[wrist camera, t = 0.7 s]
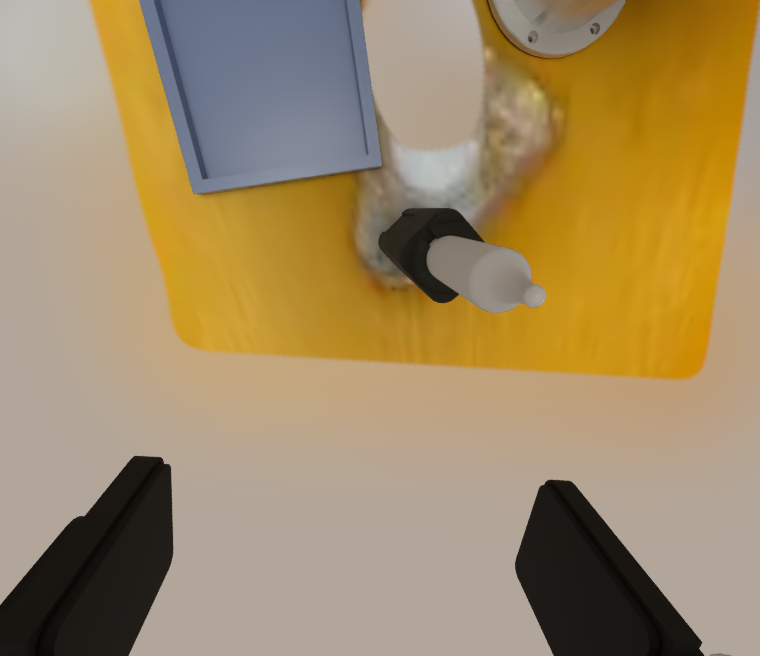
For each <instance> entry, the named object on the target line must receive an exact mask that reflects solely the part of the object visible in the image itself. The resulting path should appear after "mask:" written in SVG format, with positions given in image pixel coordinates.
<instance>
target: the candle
mask: <svg viewBox="0 0 760 656" xmlns="http://www.w3.org/2000/svg"><path fill="white" fill-rule="evenodd" d="M379 247H380V249H381V250H382V251H383V252H384V253H385V254H386V255H387V257H388V258H389V259H390V260H391V261H392V262H393V263H394V264H395V265H396V266H397V267H398V268H399V269H400V270H401V271H402V272H403V273H404V274H405V275H406V276H407V277H408V278H409V279H411V280H412V281H413V282H414V283H415V284H416V285H417V286H418V287H419V288H420V289H421V290H422V291H423V292H424V293H426V294H427V295H428V296H429V297H430V298H431V299H432V300H433V301H435V302H438V303H447V302H450V301H452V300H453V299H454V298H456V297H457V296H458V295H459V294H460V295H462V296H463V297H464V298H466V299H467V300H469V301H470V302H472V303H473V304H475V305H476V306H478V307H479V308H481V309H483V310H485V311H487V312H494V313H500V312H506V311H509V310H511V309H513V308H515V307H516V306H517V305H519V304H520V303H524V304H525V305H526V306H529V307H538V306H540V305H541V304H542V303H543V302H544V301H545V298H546V292H545V290H544V289H543V287H541V286H539V285H535V284H534V285H533V283H532V273H531V269H530V265H529V264H528V262H527V260H526V259H525V258H524V257H523V256H522V255H521V254H520V253H519V252H517V251H515V250H513V249H510V248H505V247H501V246H497V245H492V244H488V243H485V242H484V241H483V240H482V238H481V237H480V236H479V235H478V234H477V232H476V231H475V230H474V229H473V228H472V227H471V225H470V224H469V223H468V222H467V221H466V219H465V218H464V217H463V216H462V215H461V214H460V213H459V212H458V211H456V210H454V209H450V208H412V209H407V210H405V211H404V212H402V216H401V217H400V218H399V219H398V220H397V221H396V222H395V223H394V224H393V225H392V226H391V227H390V228H389V229H388V230H387V231H386V232H383V233H382V234H381V235H380V237H379Z"/></svg>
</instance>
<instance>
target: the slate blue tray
mask: <svg viewBox="0 0 760 656" xmlns="http://www.w3.org/2000/svg"><path fill="white" fill-rule="evenodd" d="M139 2H140V5H141V9H142V12H143V16H144V19H145V23H146V27H147V30H148V34H149V37H150V41H151V44H152V48H153V51H154V55H155V59H156V62H157V66H158V69H159V73H160V76H161V80H162V83H163V87H164V90H165V94H166V98H167V101H168V105H169V108H170V112H171V115H172V119H173V122H174V126H175V130H176V133H177V137H178V140H179V144H180V147H181V151H182V154H183V158H184V161H185V165H186V169H187V172H188V176H189V179H190V183H191V186H192V190H193V193H194V194H198V195H205V194H212V193H218V192H225V191H232V190H238V189H245V188H251V187H258V186H265V185H271V184H278V183H285V182H291V181H298V180H304V179H311V178H318V177H324V176H331V175H338V174H344V173H351V172H357V171H364V170H371V169H377V168H380V167H381V166H382V161H381V153H380V146H379V138H378V131H377V124H376V116H375V109H374V102H373V94H372V87H371V80H370V72H369V65H368V58H367V51H366V43H365V36H364V28H363V21H362V13H361V6H360V0H139Z"/></svg>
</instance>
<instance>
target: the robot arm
mask: <svg viewBox="0 0 760 656" xmlns="http://www.w3.org/2000/svg"><path fill="white" fill-rule="evenodd" d="M488 2H489V5H490V8H491V11H492V14H493V17H494V19H495V20H496V22H497V24H498V26H499V28H500V29H501V31H502V32H503V33H504V34H505V36H506V37H507V38H508V39H509V40H510V41H511V42H512V43H513V44H514V45H516V46H517V47H518V48H519V49H521V50H523V51H525V52H527V53H529V54H531V55H533V56H538V57H543V58H560V57H564V56H568V55H572V54H574V53H576V52H578V51H580V50H582V49H584V48H585V47H587V46H588V45H590V44H591V43H593V42H594V41H596V40H597V39H598V38H599V37H600V36H601V35H602V34H603V33H605V32H606V31H607V30H608V28H609V27H610V26H611V25H612V23H613V22H614V21H615V19H616V18H617V17H618V15H619V13H620V11H621V9H622V8H623V6H624V4H625V2H626V0H488ZM528 38H529V39H530V42H529V40H528ZM172 525H173V523H172V487H171V467H170V465H169V464H164V461H163V459H162V458H161V457H145V456H134V457H133V458H132V459H131V460H130V461H129V462H128V463H127V465H126V466H125V467H124V468H123V470H122V471H121V472H120V473H119V475H118V476H117V477H116V478H115V479H114V481H113V482H112V483H111V484H110V486H109V487H108V488H107V489H106V491H105V492H104V493H103V494H102V496H101V497H100V498H99V499H98V501H97V502H96V503H95V504H94V505H93V507H92V508H91V509H90V510H89V512H88V513H87V514H86V515H85V516H79V517H77V518H75V519H73V520H72V521H71V522H70V524H68V525H67V526H66V527H65V529H64V530H63V531H62V532H61V533H60V535H59V536H58V537H57V538H56V539H55V540H54V542H53V543H52V544H51V545H50V546H49V548H48V549H47V550H46V551H45V552H44V554H43V555H42V556H41V557H40V558H39V560H38V561H37V562H36V563H35V564H34V565H33V567H32V568H31V569H30V570H29V571H28V573H27V574H26V575H25V576H24V577H23V579H22V580H21V581H20V582H19V583H18V585H17V586H16V587H15V588H14V589H13V591H12V592H11V593H10V594H9V595H8V596H7V598H6V599H5V600H4V601H3V602H2V604H1V605H0V656H128V655H129V653H130V651H131V649H132V647H133V644H134V642H135V640H136V638H137V636H138V634H139V632H140V630H141V627H142V626H143V623H144V621H145V619H146V617H147V615H148V612H149V610H150V608H151V606H152V604H153V602H154V600H155V597H156V595H157V593H158V591H159V589H160V587H161V585H162V583H163V580H164V578H165V576H166V574H167V572H168V570H169V567H170V565H171V561H172V557H173V526H172ZM515 569H516V574H517V577H518V579H519V581H520V583H521V586H522V588H523V590H524V592H525V594H526V596H527V598H528V601H529V603H530V605H531V607H532V609H533V612H534V614H535V616H536V618H537V620H538V622H539V625H540V626H541V629H542V631H543V633H544V635H545V638H546V640H547V642H548V644H549V646H550V648H551V651H552V653H553V655H554V656H704V654H703V653H702V652H701V651H700V649H699V648H700V646H701V644H702V642H701V640H700V639H699V638H698V636H697V635H696V634H695V633H694V632H693V630H692V629H691V628H690V627H689V625H688V624H687V623H686V622H685V621H684V619H683V618H682V617H681V615H680V614H679V613H678V612H677V611H676V610H675V608H674V607H673V606H672V604H671V603H670V602H669V601H668V599H667V598H666V597H665V596H664V594H663V593H662V592H661V591H660V590H659V588H658V587H657V586H656V585H655V583H654V582H653V581H652V580H651V578H650V577H649V576H648V575H647V574H646V572H645V571H644V570H643V569H642V567H641V566H640V565H639V564H638V563H637V561H636V560H635V559H634V557H633V556H632V555H631V554H630V553H629V551H628V550H627V549H626V547H625V546H624V545H623V544H622V543H621V541H620V540H619V539H618V538H617V536H616V535H615V534H614V533H613V532H612V530H611V529H610V528H609V527H608V525H607V524H606V523H605V521H604V520H603V519H602V518H601V517H600V515H599V514H598V513H597V512H596V510H595V509H594V508H593V507H592V506H591V504H590V503H589V502H588V500H587V499H586V498H585V497H584V496H583V494H582V493H581V492H580V491H579V490H578V488H577V487H576V486H575V485H574V484H573V483H572V482H570V481H563V480H548V481H546V482H545V484H544V485H542V486H540V488H539V490H538V493H537V497H536V499H535V503H534V505H533V509H532V512H531V515H530V518H529V521H528V524H527V527H526V530H525V533H524V536H523V539H522V542H521V545H520V548H519V552H518V555H517V558H516V562H515ZM710 656H730V655H725V654H721V653H719V654H711V655H710Z"/></svg>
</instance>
